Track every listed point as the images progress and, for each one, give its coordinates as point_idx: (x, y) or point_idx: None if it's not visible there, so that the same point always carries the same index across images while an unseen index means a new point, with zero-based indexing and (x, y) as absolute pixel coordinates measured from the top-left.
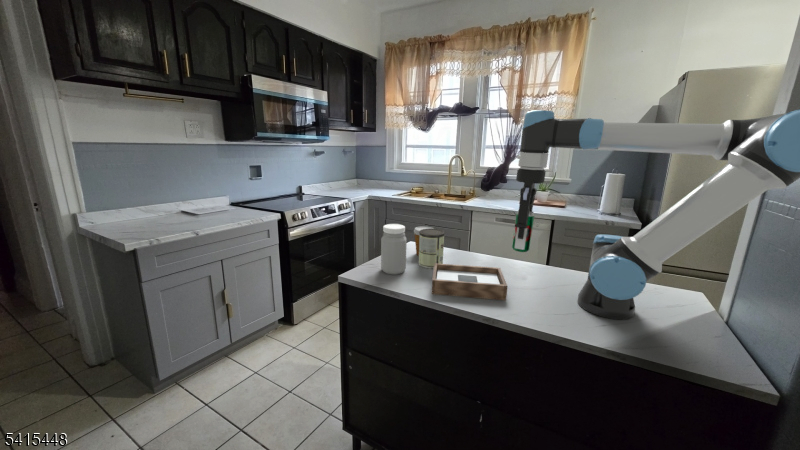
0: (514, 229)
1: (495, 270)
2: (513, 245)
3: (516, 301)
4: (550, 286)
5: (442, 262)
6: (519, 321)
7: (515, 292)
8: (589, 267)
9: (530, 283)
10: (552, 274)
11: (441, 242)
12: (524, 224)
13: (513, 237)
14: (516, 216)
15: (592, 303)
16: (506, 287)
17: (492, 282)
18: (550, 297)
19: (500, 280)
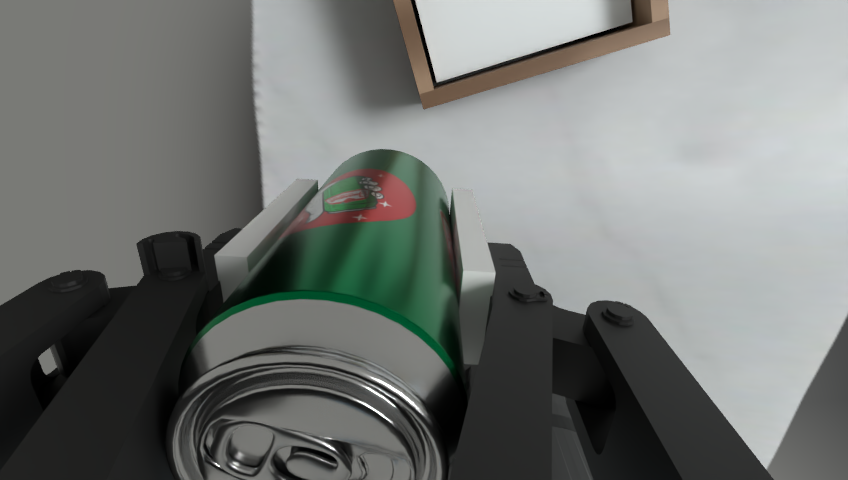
0: (322, 202)
1: (646, 11)
2: (338, 168)
3: (435, 143)
4: (634, 255)
5: None
6: (284, 168)
7: (521, 131)
8: (558, 448)
9: (643, 183)
10: (777, 263)
11: None
12: (54, 372)
13: (341, 176)
14: (254, 285)
15: (468, 376)
16: (422, 104)
17: (504, 21)
18: (526, 255)
19: (524, 60)
